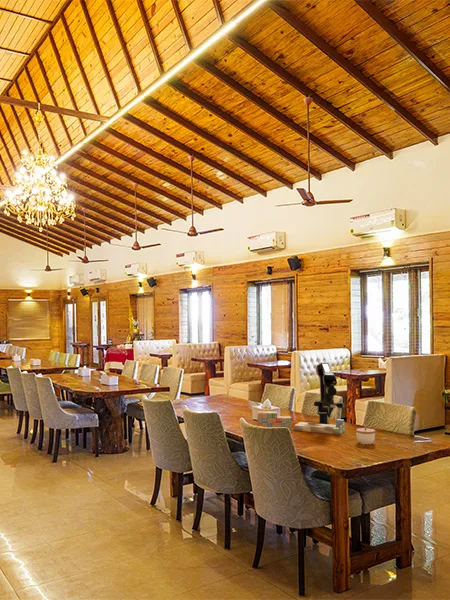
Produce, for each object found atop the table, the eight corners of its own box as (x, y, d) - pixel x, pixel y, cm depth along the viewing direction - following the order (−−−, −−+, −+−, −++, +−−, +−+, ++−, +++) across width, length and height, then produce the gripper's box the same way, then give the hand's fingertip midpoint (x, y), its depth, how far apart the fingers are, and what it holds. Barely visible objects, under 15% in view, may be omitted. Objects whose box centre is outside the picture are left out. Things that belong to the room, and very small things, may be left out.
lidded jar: (362, 446, 315) (361, 429, 315) (352, 441, 325) (352, 425, 325) (378, 445, 318) (378, 428, 318) (369, 440, 328) (369, 424, 328)
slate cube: (337, 425, 359) (337, 418, 359) (343, 425, 357) (343, 419, 357) (336, 426, 356) (336, 419, 356) (342, 426, 354) (342, 420, 354)
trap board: (300, 426, 370) (300, 419, 370) (345, 430, 357) (345, 423, 357) (293, 430, 358) (293, 423, 358) (340, 434, 345) (340, 427, 345)
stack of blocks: (291, 430, 356) (291, 411, 357) (291, 433, 350) (291, 413, 350) (257, 430, 358) (257, 411, 358) (257, 432, 352) (257, 412, 352)
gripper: (311, 394, 357) (311, 418, 356) (340, 396, 349) (340, 421, 349) (316, 391, 367) (316, 415, 367) (344, 393, 359) (344, 418, 359)
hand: (329, 417), depth 360 cm, fingers closed
